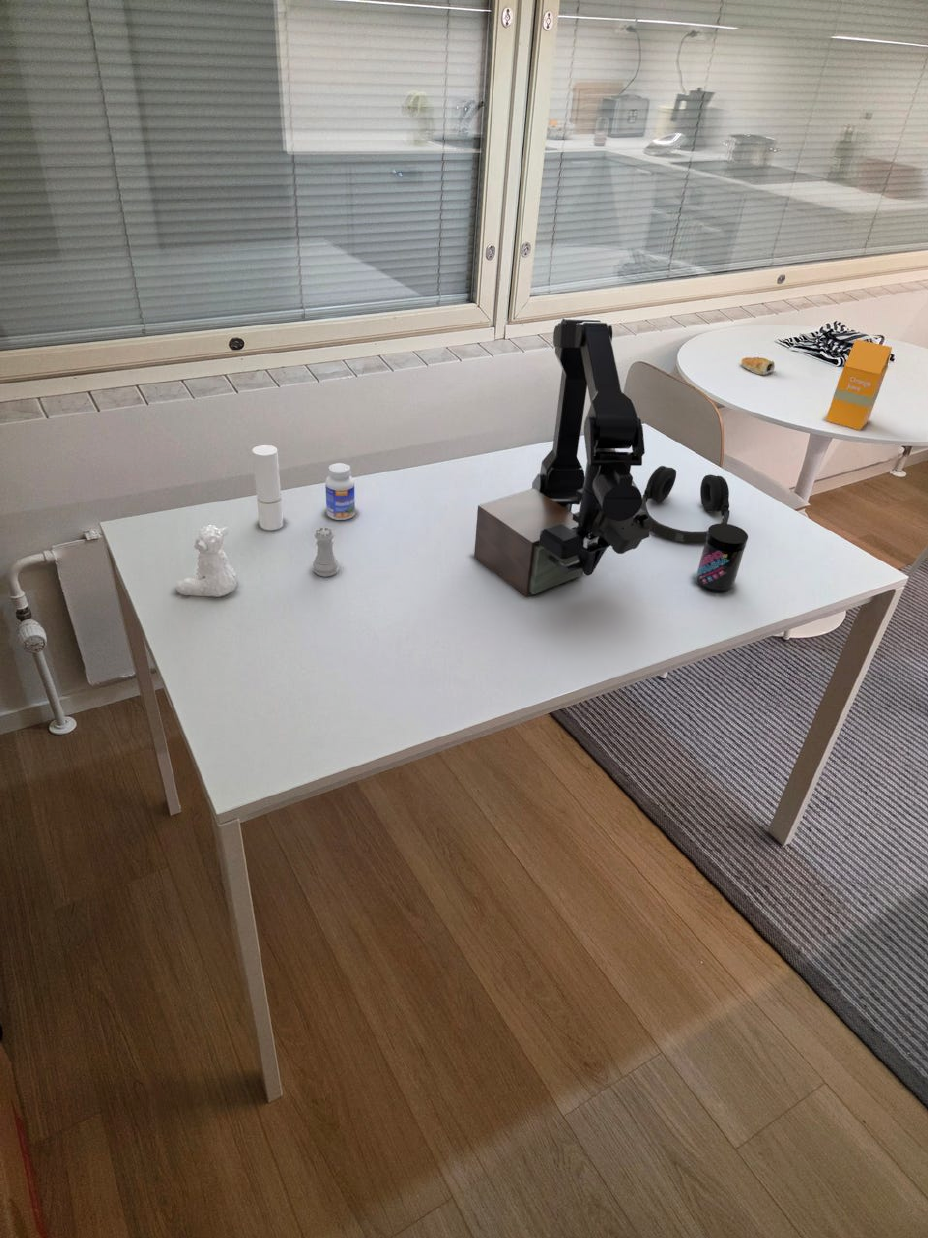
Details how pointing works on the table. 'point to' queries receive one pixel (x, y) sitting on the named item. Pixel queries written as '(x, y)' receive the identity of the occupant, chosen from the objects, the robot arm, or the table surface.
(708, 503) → the headphones
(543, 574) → the drawer
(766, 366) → the pastry
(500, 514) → the cabinet
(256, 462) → the tube
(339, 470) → the pill bottle
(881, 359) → the orange juice
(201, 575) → the white creature statuette
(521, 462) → the table surface
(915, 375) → the table surface
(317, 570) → the rook chess piece
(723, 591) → the supplement container
